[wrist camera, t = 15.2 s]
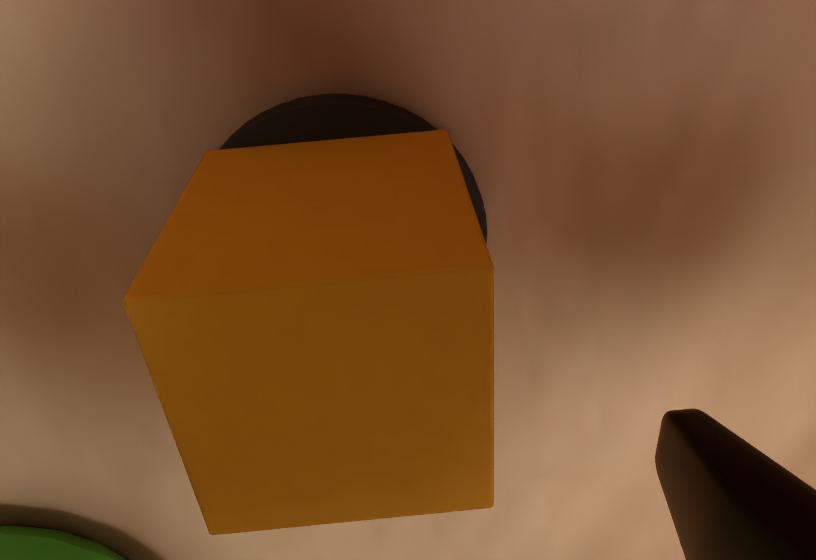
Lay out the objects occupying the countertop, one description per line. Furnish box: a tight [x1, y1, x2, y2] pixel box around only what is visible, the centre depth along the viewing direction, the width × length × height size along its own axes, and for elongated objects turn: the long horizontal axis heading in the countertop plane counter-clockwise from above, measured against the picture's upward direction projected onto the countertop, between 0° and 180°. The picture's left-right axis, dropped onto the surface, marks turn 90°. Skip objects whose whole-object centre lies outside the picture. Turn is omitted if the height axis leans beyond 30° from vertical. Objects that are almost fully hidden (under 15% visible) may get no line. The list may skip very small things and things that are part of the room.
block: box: [124, 130, 494, 535], centre depth 11 cm, size 4×4×5 cm
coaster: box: [219, 94, 487, 243], centre depth 13 cm, size 6×6×1 cm
